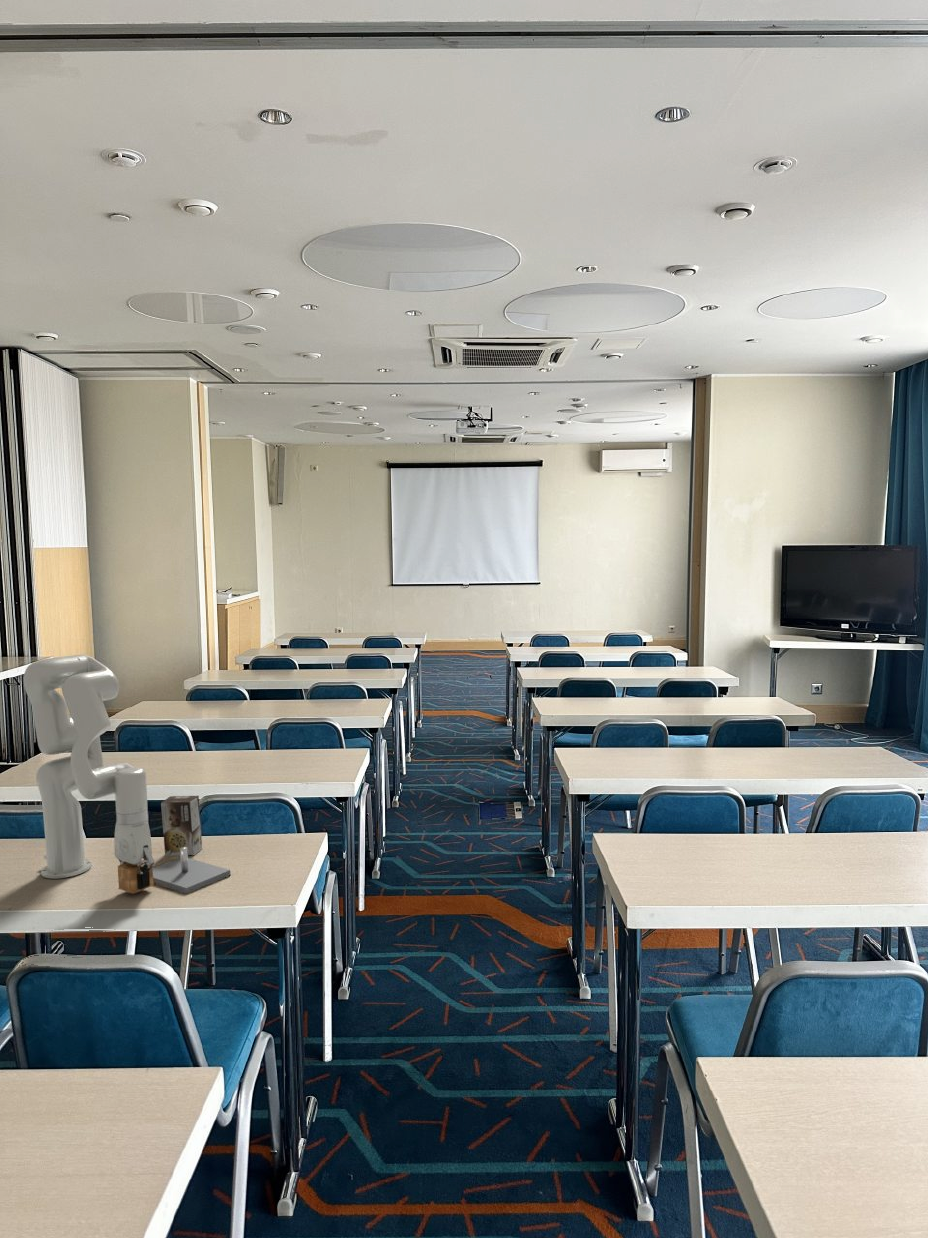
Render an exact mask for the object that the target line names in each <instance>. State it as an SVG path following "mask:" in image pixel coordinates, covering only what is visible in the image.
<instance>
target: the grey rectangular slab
mask: <svg viewBox="0 0 928 1238" xmlns="http://www.w3.org/2000/svg"><path fill="white" fill-rule="evenodd" d="M152 868H153V884H155V885H159V886H161V885H162V887H164V886H165V888H167V887H168V889H171V890H174V891H177V892H180V893H184V894H189V893H192V892H194V890H195V891H196V890H200V889H201V887H202V888H204V887H206V886H209V885H211V884H213V882H214V883H216V882H217V880H218V881H220V879H221V880H222V879H226V878H228V877H230V876H231V875H232V874H231V870H230V869H229V868H225V867H221V866H219V865H218V866H217V865H214V864H211V863H206V862H203V861H200V860H196V859H193V858H191V857H188V869H189V871H188V872H186V873H182V871H181V857H180V858H177V859H175V860H172V861H170V862H166V863H164V864H161V865H158V866H155V867H152ZM229 875H230V876H229ZM227 876H228V877H227ZM225 877H226V878H225ZM215 881H216V882H215ZM205 885H206V886H205ZM203 886H204V887H203Z"/></svg>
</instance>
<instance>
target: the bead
mask: <svg viewBox="0 0 928 1238" xmlns="http://www.w3.org/2000/svg"><path fill="white" fill-rule="evenodd" d="M143 860H144V859H142V860H141V861H143ZM144 865H145V864H144V863H141V867H143V866H144ZM153 868H154V867H153V866H152V867H151V870H150V871H149V876H150V885H149V886H148V887H145V888H143V889H140V890H139V889H138V885H137V874H139V873H138V869H137V866H136V865H133V864H130V863H125V864H122V865H120V864H119V865H117V877H118V878H117V879H118V882H117V883H118V890H122V891H124V892H127V893H130V894H132V895H133V894H136V893H138V892H140V891H143V890H146V889H149V888H150V887H151V888H152V887H154V883H153Z"/></svg>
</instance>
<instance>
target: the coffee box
mask: <svg viewBox="0 0 928 1238" xmlns="http://www.w3.org/2000/svg"><path fill="white" fill-rule="evenodd" d="M160 807H161V818H162V819H161V820H162V830H163V831H162V832H163V834H162V835H163V845H164V846H163V847H164V856H165V857H175V856H176V857H177V856H179V857H181V855H180V848H182V847H187V854H188V855H194V856H195V855H197V854H198V853H199V852H200V851H201V850H203V839H202V827H201V811H200V797H199V795H172V796H171V795H170V796H168V797H167V798H166V799H164V800H163V801H161V803H160Z"/></svg>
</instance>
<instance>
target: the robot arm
mask: <svg viewBox="0 0 928 1238" xmlns="http://www.w3.org/2000/svg"><path fill="white" fill-rule="evenodd" d="M23 685H24V690H25V692H26V695H27V696H28V699H29V701H30V704H31V707H32V713H33V718H34V719H33V721H34V726H35V733H36V735H35V736H36V739H37V746H38V748H39V751H40V752H41V754H43V755H46V756H54V755H60V754H64V753H68V752H70V756H64V757H61V758H56V759H52V760H49V761H47V762H45V763H43V764H41V765H40V767H38V769H37V772H36V775H35V776H36V785H37V787H38V791H39V794H40V799H41V804H42V805H41V806H42V816H43V827H44V840H45V843H44V844H45V855H44V856H43V858H44V859H45V860H46V866H44V867H43V868H42V869H41V871H40V872H41V873H40V874H41V876H42V877H43V878H45V879H52V880H53V879H55V880H56V879H66V878H70V877H75V876H77V875H80V874H83V873H85V872H87V871H88V870H90V868H92V861H91V860H90V859H87V858H86V857H85V843H84V842H85V841H84V829H83V827H84V826H83V816H82V815H83V814H82V806H81V804H80V802H79V800H78V799H77V798H76V797H75V796H74V795H73V794H72V792H74V791H77V790H78V792H79V794H80V795H81V796H82V797H83V798H84V799H86V800H97V799H101V798H103V797H106V796H111V795H115V797H114V799H115V815H116V822H115V826H114V828H115V829H114V844H113V845H114V856H115V858H116V859H117V860H118V861H119V865H122V864H125V863H130V864H133V865H136V866H137V869H138V873H139V874H137V885H138V889H139V890H140V889H143V888H145V887H148V886H149V885H150V876H149V871H150V870H151V867H152V868H153V866H154V863H155V859H154V857H153V847H152V837H151V831H150V825H149V810H148V809H149V808H148V788H147V772H146V771H145V770H144V769H143V768H141V767H134V766H132V765H131V764H129V763H127V762H117V763H116V762H115V763H113V764H109V765H108V764H107V765H105V766H104V758H103V752H102V745H101V738H100V737H101V735H103V734H104V733H106V732H107V731H108V730H109V729H110V727H111V724H112V722H111V720H110V717H109V714H108V712H107V709H106V706H105V704H104V702H105V701H110V700H113V699H115V698H117V697H118V695H119V692H120V684H119V679H118V678H117V676H116V675H115V673H113V671H112V670H111V669H109V667H107V666H106V665H104V664H103V663H102V662H99V661H98V660H97V659H95V658H94V657H92V656H90V655H87V654H76V655H69V656H58V657H51V658H50V657H49V658H44V659H40V660H37V661H34V662H32V663H30V664H29V665H28V666H27V667H26V668H25V671H24V674H23ZM56 689H61V692H62V694H61V693H60V692H58V690H56ZM69 714H70V715H69ZM141 860H143V861H141ZM141 863H144V864H145V865H144V866H143V867H141Z"/></svg>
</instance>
